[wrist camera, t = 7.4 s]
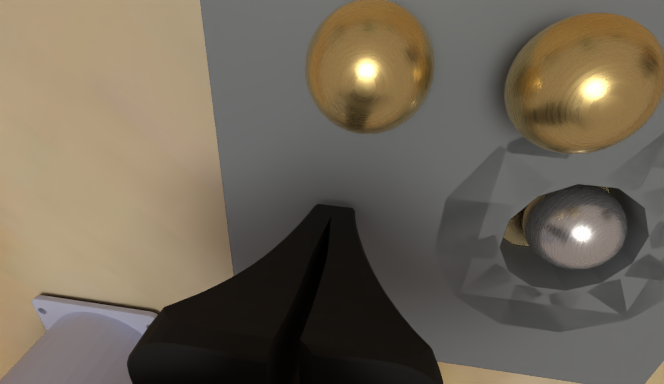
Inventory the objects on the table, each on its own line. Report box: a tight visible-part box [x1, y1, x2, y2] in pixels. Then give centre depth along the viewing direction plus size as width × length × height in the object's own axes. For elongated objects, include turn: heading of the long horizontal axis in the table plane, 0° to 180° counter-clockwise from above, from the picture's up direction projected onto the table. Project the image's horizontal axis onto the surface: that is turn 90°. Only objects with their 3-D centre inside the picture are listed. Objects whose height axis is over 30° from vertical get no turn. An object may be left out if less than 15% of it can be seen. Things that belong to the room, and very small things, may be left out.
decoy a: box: [305, 0, 435, 134], centre depth 9 cm, size 3×3×3 cm
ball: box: [522, 184, 627, 269], centre depth 14 cm, size 3×3×3 cm
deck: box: [200, 0, 664, 384], centre depth 14 cm, size 18×15×2 cm
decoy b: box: [504, 13, 664, 154], centre depth 9 cm, size 3×3×3 cm
